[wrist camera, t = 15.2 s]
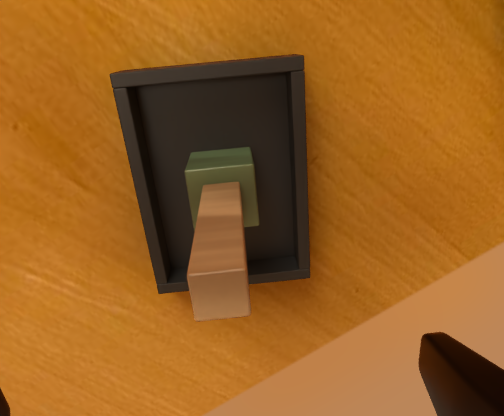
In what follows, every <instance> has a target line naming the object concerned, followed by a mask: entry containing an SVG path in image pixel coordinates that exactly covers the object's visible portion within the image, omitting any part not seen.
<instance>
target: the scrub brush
mask: <svg viewBox="0 0 504 416" xmlns="http://www.w3.org/2000/svg"><path fill="white" fill-rule="evenodd" d="M185 178H186V184H187V190H188V196H189V202H190V208H191V214H192V220H193V226H194V231H195V233H194V238H193V244H192V249H191V255H190V260H189V266H188V271H187V281H188V286H189V291H190V297H191V302H192V308H193V313H194V318H195V320H196V321H207V320H217V319H226V318H235V317H245V316H250V314H251V305H250V293H249V281H248V269H247V257H246V245H245V233H244V227H251V226H258V225H259V214H258V203H257V191H256V180H255V169H254V162H253V157H252V152H251V148H250V147H241V148H231V149H221V150H211V151H201V152H192V153H191V154H190V157H189V160H188V163H187V166H186V169H185Z"/></svg>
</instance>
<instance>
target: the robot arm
mask: <svg viewBox="0 0 504 416" xmlns="http://www.w3.org/2000/svg"><path fill="white" fill-rule="evenodd" d="M419 370H420V373H421V376H422V378H423V381H424V383H425V386H426V388H427V391H428V393H429V396H430V398H431V401H432V403H433V406H434V408H435V411H436V413H437V416H504V370H503V369H502V368H500V367H498V366H497V365H495V364H494V363H492V362H490V361H489V360H487V359H485V358H484V357H482V356H481V355H479V354H478V353H476V352H474V351H473V350H471V349H470V348H468V347H466V346H465V345H463V344H462V343H460V342H458V341H457V340H455V339H454V338H452V337H450V336H449V335H447V334H445V333H443V332H436V333H427V334H424V335H423V336H422V339H421V347H420V355H419ZM0 416H10V407H9V405H8V403H7V401H6V399H5V397H4V395H3V393H2V391H1V389H0Z"/></svg>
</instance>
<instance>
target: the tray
mask: <svg viewBox="0 0 504 416" xmlns="http://www.w3.org/2000/svg"><path fill="white" fill-rule="evenodd" d="M303 70H304V56H303V55H297V54H292V55H282V56H271V57H260V58H250V59H239V60H229V61H218V62H208V63H197V64H186V65H176V66H165V67H155V68H144V69H134V70H123V71H119V72H115V73H111V74H110V79H111V84H112V87H113V88H114V89H113V92H114V97H115V101H116V106H117V110H118V114H119V119H120V123H121V128H122V132H123V137H124V141H125V146H126V150H127V155H128V159H129V163H130V168H131V172H132V177H133V181H134V186H135V190H136V195H137V199H138V204H139V208H140V212H141V217H142V221H143V226H144V230H145V235H146V239H147V244H148V248H149V253H150V257H151V261H152V266H153V270H154V275H155V279H156V283H157V289H158V293H159V294H163V293H172V292H182V291H189V286H188V281H187V271H188V266H189V260H190V255H191V249H192V244H193V238H194V233H195V231H194V226H193V220H192V214H191V208H190V202H189V196H188V190H187V184H186V178H185V169H186V166H187V163H188V160H189V157H190V154H191V153H192V152H201V151H211V150H221V149H231V148H241V147H250V148H251V152H252V157H253V162H254V169H255V180H256V191H257V203H258V214H259V225H258V226H251V227H244V233H245V245H246V257H247V269H248V281H249V284H258V283H267V282H277V281H286V280H296V279H305V278H310V251H309V216H308V181H307V146H306V111H305V76H304V71H303Z"/></svg>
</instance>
